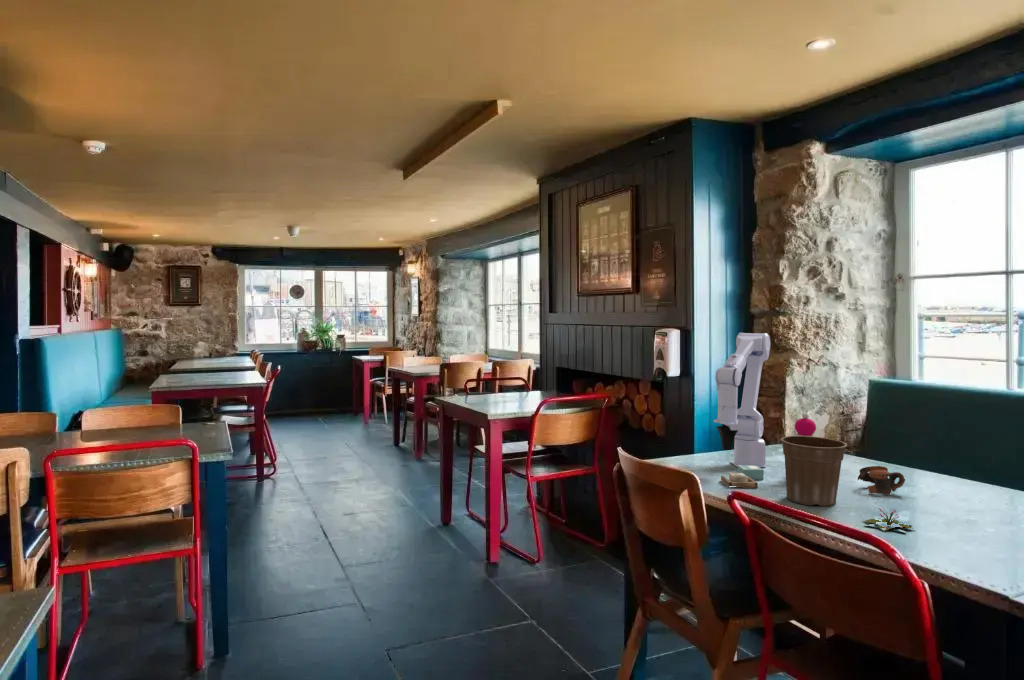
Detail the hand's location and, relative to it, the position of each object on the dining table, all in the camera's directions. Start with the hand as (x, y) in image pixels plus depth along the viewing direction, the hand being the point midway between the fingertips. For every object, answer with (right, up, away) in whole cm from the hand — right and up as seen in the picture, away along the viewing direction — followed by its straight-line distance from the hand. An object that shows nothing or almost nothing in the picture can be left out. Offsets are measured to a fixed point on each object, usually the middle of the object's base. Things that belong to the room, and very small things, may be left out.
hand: (727, 449), depth 214 cm
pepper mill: (+22, -8, -4) cm, 24 cm away
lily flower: (+22, -11, -51) cm, 56 cm away
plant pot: (+14, -9, -29) cm, 33 cm away
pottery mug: (+38, -9, -18) cm, 43 cm away
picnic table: (0, -8, -11) cm, 14 cm away
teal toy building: (+6, -8, -3) cm, 10 cm away
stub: (0, -9, -11) cm, 14 cm away
